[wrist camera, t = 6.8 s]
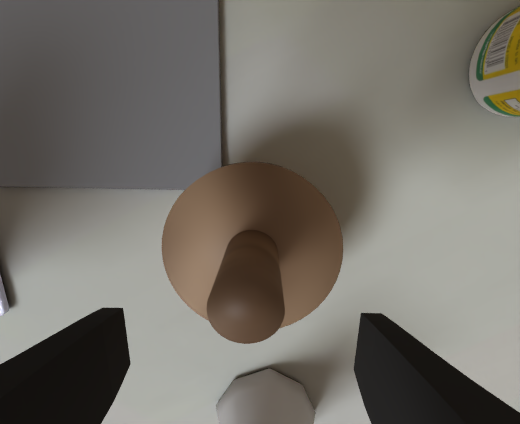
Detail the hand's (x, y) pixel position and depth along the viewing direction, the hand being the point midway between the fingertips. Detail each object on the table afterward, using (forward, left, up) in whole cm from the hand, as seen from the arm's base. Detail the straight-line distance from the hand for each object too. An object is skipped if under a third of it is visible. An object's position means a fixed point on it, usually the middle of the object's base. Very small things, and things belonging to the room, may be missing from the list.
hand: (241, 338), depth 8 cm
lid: (0, 0, -6) cm, 6 cm away
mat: (-9, +10, -9) cm, 16 cm away
